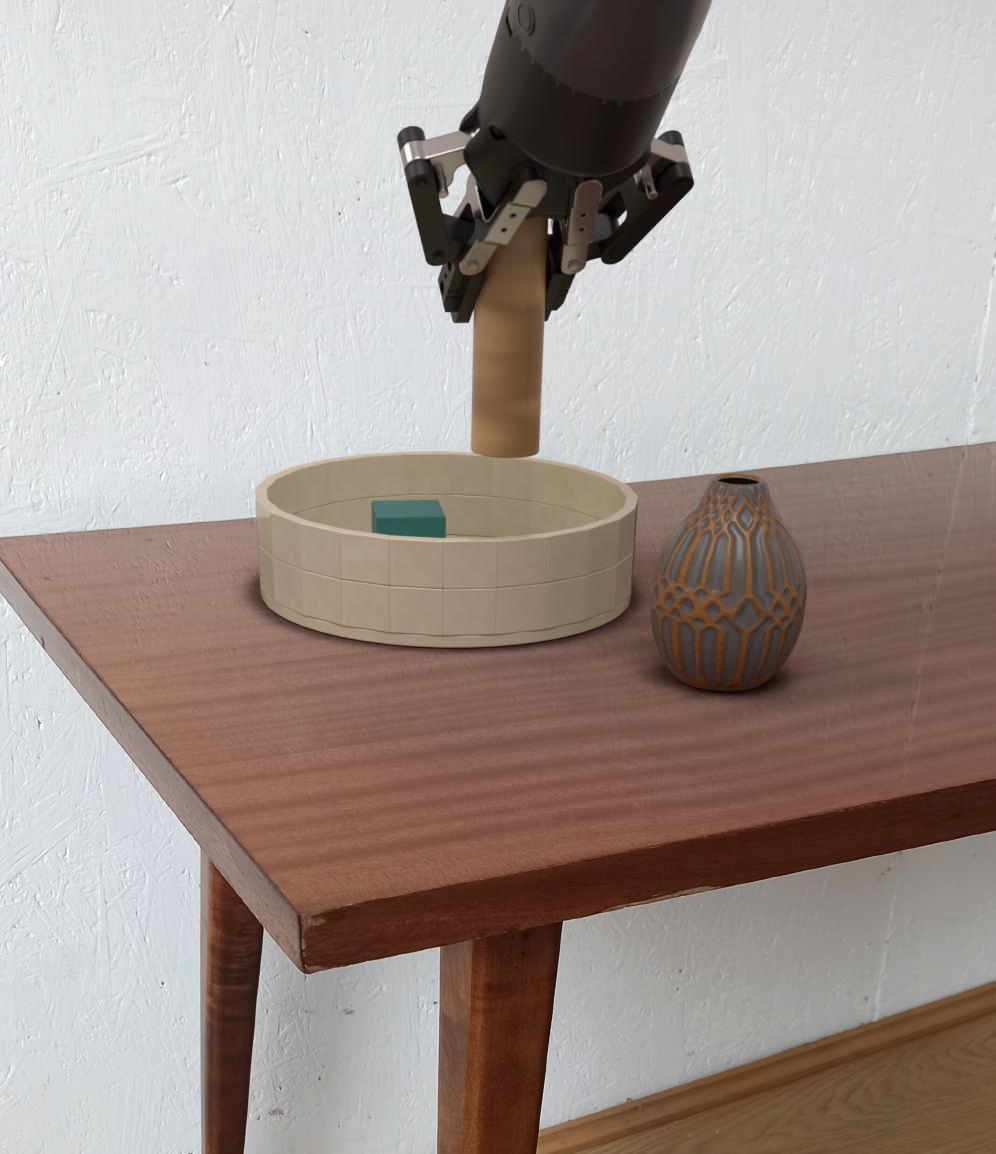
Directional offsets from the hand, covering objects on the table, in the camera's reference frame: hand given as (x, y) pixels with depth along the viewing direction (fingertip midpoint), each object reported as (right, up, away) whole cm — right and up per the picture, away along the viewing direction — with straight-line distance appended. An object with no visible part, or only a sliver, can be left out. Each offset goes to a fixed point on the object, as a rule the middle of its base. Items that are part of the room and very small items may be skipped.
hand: (495, 305), depth 84 cm
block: (-4, -12, +6) cm, 14 cm away
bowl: (-3, -12, +6) cm, 14 cm away
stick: (+1, -6, +2) cm, 7 cm away
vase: (+10, -19, -5) cm, 23 cm away
